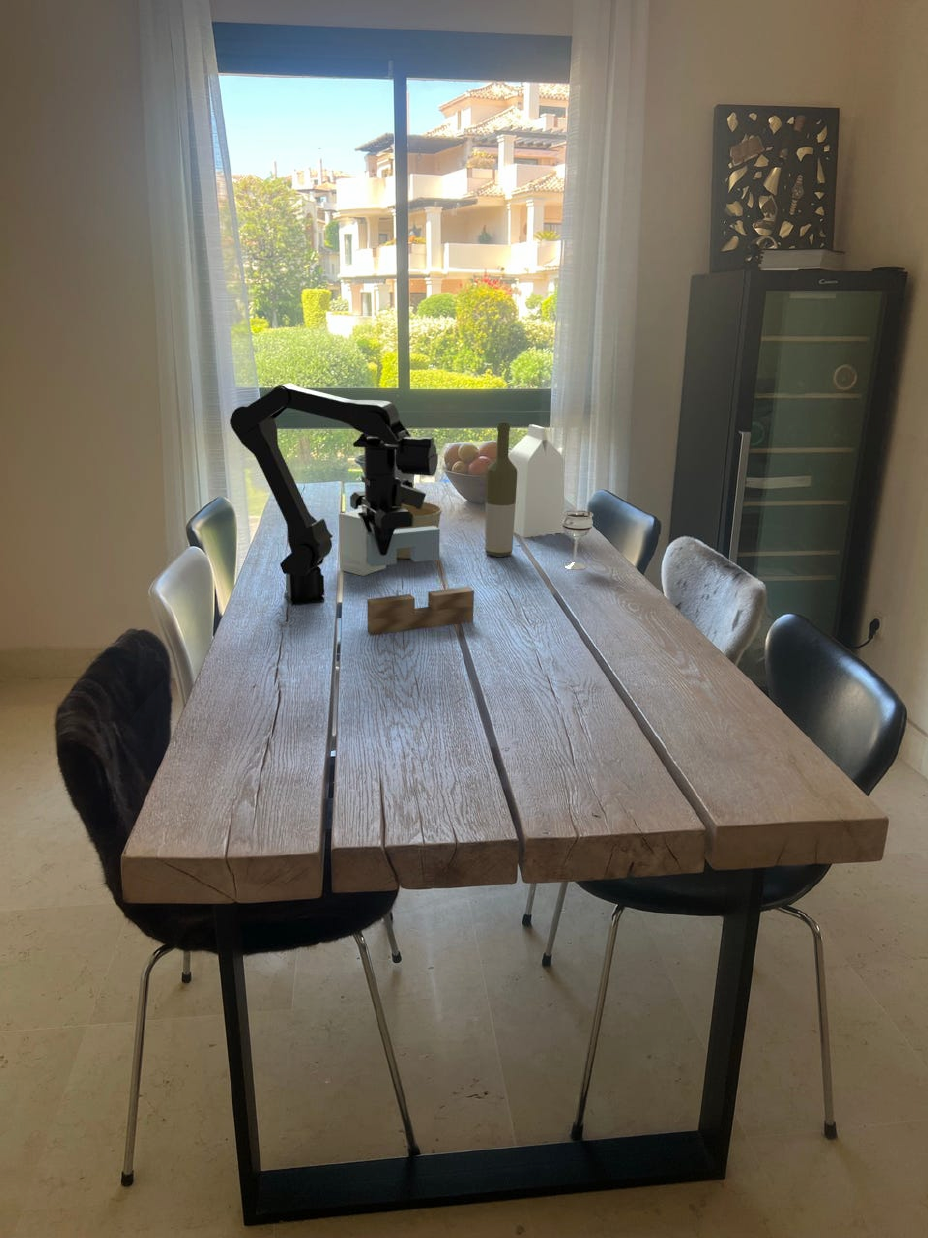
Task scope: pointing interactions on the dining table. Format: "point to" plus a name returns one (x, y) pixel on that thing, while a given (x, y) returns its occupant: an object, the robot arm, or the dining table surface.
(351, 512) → the supplement box
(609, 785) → the dining table surface
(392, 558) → the slate-blue slotted crosspiece
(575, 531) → the wineglass
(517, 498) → the milk
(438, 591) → the walnut slotted plate
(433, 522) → the planter bowl
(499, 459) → the bottle
